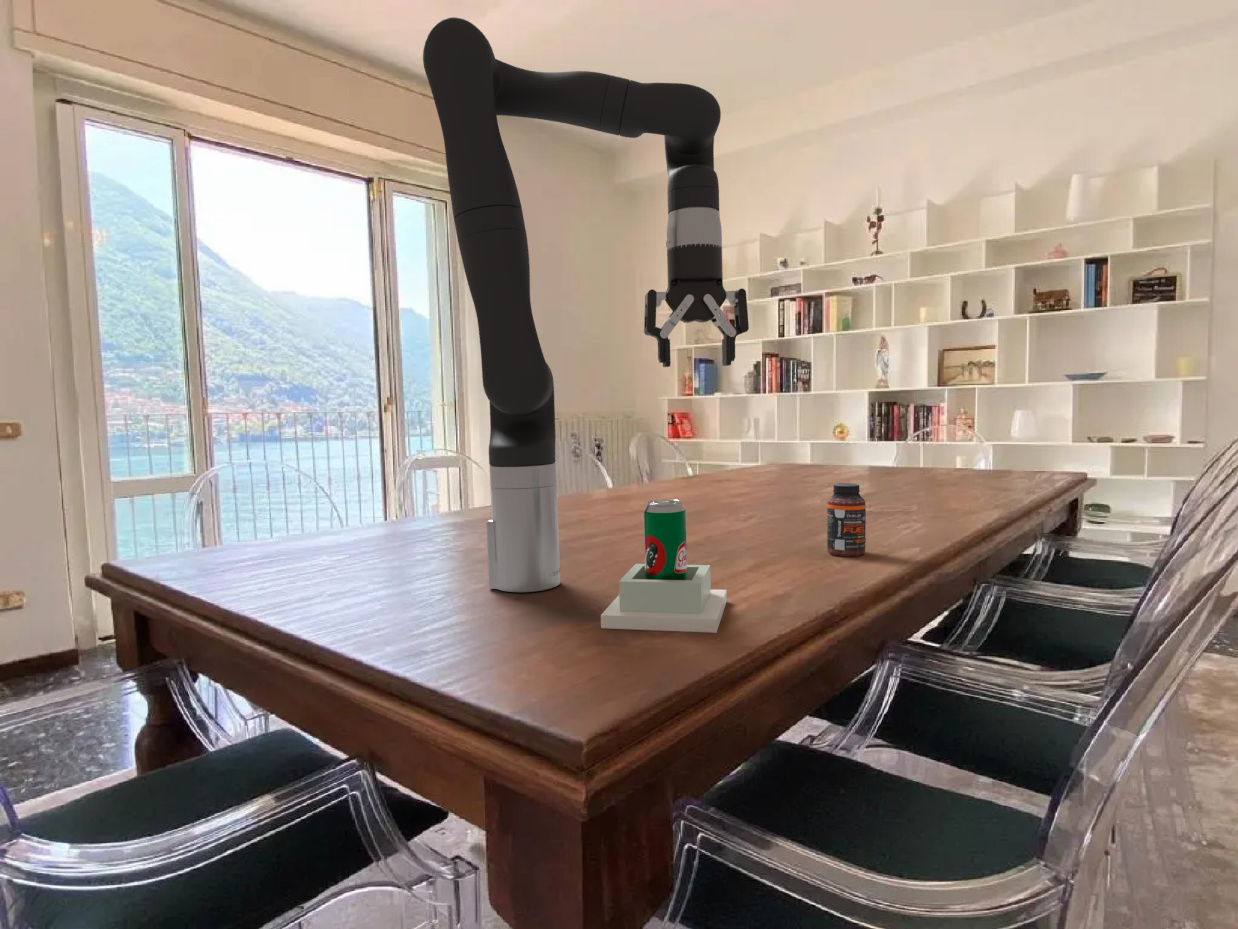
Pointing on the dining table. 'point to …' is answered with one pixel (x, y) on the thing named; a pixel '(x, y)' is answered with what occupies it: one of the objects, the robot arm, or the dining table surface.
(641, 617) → the socket holder
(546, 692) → the dining table surface
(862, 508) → the supplement bottle
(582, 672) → the dining table surface
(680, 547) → the soda can
